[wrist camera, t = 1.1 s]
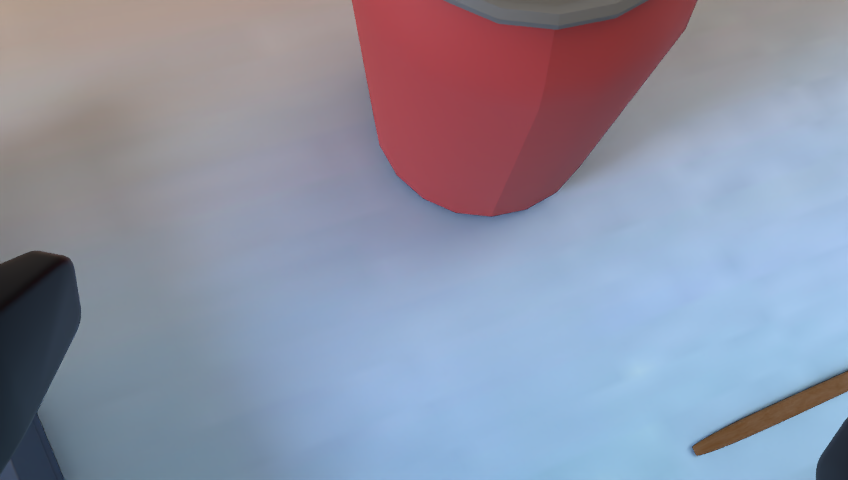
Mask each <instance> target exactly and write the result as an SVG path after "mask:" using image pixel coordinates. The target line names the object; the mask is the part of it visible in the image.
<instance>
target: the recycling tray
mask: <svg viewBox="0 0 848 480" xmlns="http://www.w3.org/2000/svg"><path fill="white" fill-rule="evenodd" d="M0 480H64V478H63V476H62V473H61V471H60V468H59V466H58V464H57V461H56V459H55V456H54V454H53V452H52V449H51V447H50V444H49V442H48V439H47V437H46V435H45V432H44V430H43V427H42V425H41V423H40V420H39V418H38V415H37V413H36V414H35V416H34V418H33V420H32V422H31V424H30V426H29V428H28V430H27V432H26V434H25V435H24V437H23V439H22V441H21V443H20V444H19V446H18V448H17V449H16V451H15V453H14V454H13V456H12V457H11V459H10V461H9V462H8V464H7V465H6V467H5V468H4V470H3V472H2V473H1V475H0Z"/></svg>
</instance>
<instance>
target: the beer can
mask: <svg viewBox="0 0 848 480" xmlns="http://www.w3.org/2000/svg"><path fill="white" fill-rule="evenodd" d="M352 3H353V9H354V14H355V19H356V25H357V30H358V35H359V41H360V46H361V51H362V57H363V62H364V67H365V73H366V78H367V83H368V89H369V94H370V99H371V104H372V110H373V115H374V120H375V125H376V130H377V135H378V139H379V144H380V147H381V148H382V150H383V152H384V154H385V155H386V157H387V159H388V161H389V162H390V164H391V166H392V167H393V169H394V171H395V173H396V174H397V176H399V177H400V178H401V179H402V180H403V181H404V182H405V183H406V184H408V185H409V186H410V187H411V188H412V189H413V190H414V191H415V192H417V193H418V194H419V195H420V196H421V197H422V198H423V199H426V200H428V201H430V202H433V203H435V204H437V205H439V206H442V207H444V208H446V209H448V210H451V211H453V212H455V213H463V214H472V215H482V216H496V215H501V214H506V213H511V212H516V211H521V210H526V209H528V208H529V207H531V206H533V205H535V204H536V203H538V202H540V201H542V200H544V199H545V198H547V197H549V196H551V195H552V194H554V193H556V192H557V191H558V190H559V189H560V188H561V187H562V185H563V184H564V183H565V182H566V181H567V180H568V179H569V178H570V177H571V175H572V174H573V173H574V172H575V171H576V170H577V169H578V168H579V167H580V165H581V164H582V163H583V161H584V160H585V159H586V157H587V156H588V155H589V154H590V152H591V151H592V150H593V148H594V147H595V146H596V144H597V143H598V142H599V141H600V139H601V138H602V137H603V135H604V134H605V133H606V132H607V130H608V129H609V128H610V126H611V125H612V124H613V122H614V121H615V120H616V119H617V117H618V116H619V115H620V113H621V112H622V111H623V109H624V108H625V107H626V106H627V104H628V103H629V102H630V100H631V99H632V98H633V96H634V95H635V94H636V93H637V91H638V90H639V89H640V87H641V86H642V85H643V83H644V82H645V81H646V80H647V78H648V77H649V76H650V74H651V73H652V72H653V70H654V69H655V68H656V67H657V65H658V64H659V63H660V61H661V60H662V59H663V57H664V56H665V55H666V54H667V52H668V51H669V50H670V48H671V47H672V46H673V45H674V43H675V42H676V41H677V39H678V38H679V37H680V35H681V34H682V33H683V32H684V30H685V29H686V26H687V24H688V22H689V19H690V17H691V14H692V12H693V10H694V7H695V5H696V3H697V0H352Z"/></svg>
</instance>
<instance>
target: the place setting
mask: <svg viewBox="0 0 848 480" xmlns="http://www.w3.org/2000/svg"><path fill="white" fill-rule="evenodd" d="M847 391H848V371H847V372H844V373H842V374H840V375H838V376H835V377H833V378H831V379H828V380H826V381H824V382H822V383H819V384H817V385H815V386H813V387H811V388H808V389H806V390H804V391H802V392H799V393H797V394H795V395H793V396H790V397H788V398H786V399H784V400H782V401H779V402H777V403H775V404H773V405H771V406H768V407H766V408H764V409H762V410H760V411H758V412H756V413H753V414H751V415H749V416H747V417H745V418H743V419H741V420H739V421H737V422H735V423H733V424H731V425H729V426H727V427H725V428H723V429H721V430H719V431H717V432H715V433H713V434H711V435H710V436H708V437H706V438H704V439H703V440H701V441H700V442H698V443H697V444H695V445H694V446H693V447H692V448H693V450H694V452H695V454H696V456H698V455H702V454H706V453H709V452H712V451H715V450H717V449H720V448H723V447H725V446H728V445H730V444H733V443H735V442H737V441H740V440H742V439H744V438H747V437H749V436H751V435H754V434H756V433H758V432H760V431H763V430H765V429H767V428H769V427H771V426H774V425H776V424H778V423H780V422H782V421H785V420H787V419H789V418H791V417H793V416H796V415H798V414H800V413H802V412H804V411H806V410H808V409H811V408H813V407H815V406H817V405H819V404H821V403H823V402H826V401H828V400H830V399H832V398H834V397H836V396H838V395H841V394H843V393H845V392H847Z"/></svg>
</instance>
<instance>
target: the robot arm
mask: <svg viewBox="0 0 848 480" xmlns="http://www.w3.org/2000/svg"><path fill="white" fill-rule="evenodd" d="M80 319H81V306H80V300H79V294H78V288H77V282H76V276H75V269H74V266H73V263H72V261H71V260H70V259H69V258H68V257H66V256H63V255H58V254H53V253H48V252H43V251H31V252H28V253H25V254H23V255H20V256H18V257H16V258H13V259H11V260H9V261H6V262H4V263H2V264H0V475H1V473H2V472H3V470H4V468H5V467H6V465H7V464H8V462H9V461H10V459H11V457H12V456H13V454H14V453H15V451H16V449H17V448H18V446H19V444H20V443H21V441H22V439H23V437H24V435H25V434H26V432H27V430H28V428H29V426H30V424H31V422H32V420H33V418H34V416H35V414H36V412H37V410H38V408H39V406H40V404H41V402H42V400H43V398H44V396H45V394H46V392H47V390H48V388H49V386H50V384H51V382H52V380H53V378H54V376H55V374H56V372H57V370H58V368H59V366H60V364H61V362H62V360H63V358H64V356H65V354H66V352H67V350H68V348H69V346H70V344H71V342H72V340H73V338H74V336H75V334H76V332H77V329H78V327H79V323H80ZM816 480H848V418H847V419H846V420H845V421H844V423H843V424H842V426H841V427H840V429H839V430H838V432H837V433H836V434H835V436H834V437H833V439H832V440H831V442H830V443H829V445H828V446H827V448H826V449H825V450H824V452H823V453H822V455H821V457H820V459H819V461H818V464H817V469H816Z"/></svg>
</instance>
